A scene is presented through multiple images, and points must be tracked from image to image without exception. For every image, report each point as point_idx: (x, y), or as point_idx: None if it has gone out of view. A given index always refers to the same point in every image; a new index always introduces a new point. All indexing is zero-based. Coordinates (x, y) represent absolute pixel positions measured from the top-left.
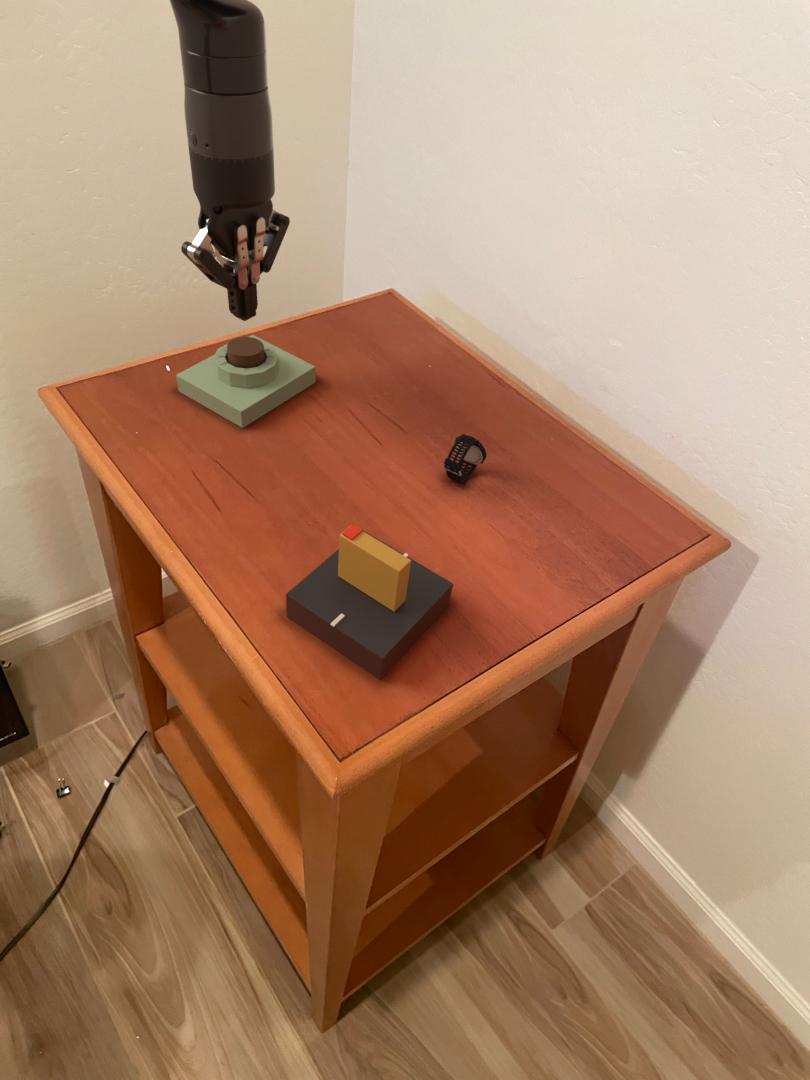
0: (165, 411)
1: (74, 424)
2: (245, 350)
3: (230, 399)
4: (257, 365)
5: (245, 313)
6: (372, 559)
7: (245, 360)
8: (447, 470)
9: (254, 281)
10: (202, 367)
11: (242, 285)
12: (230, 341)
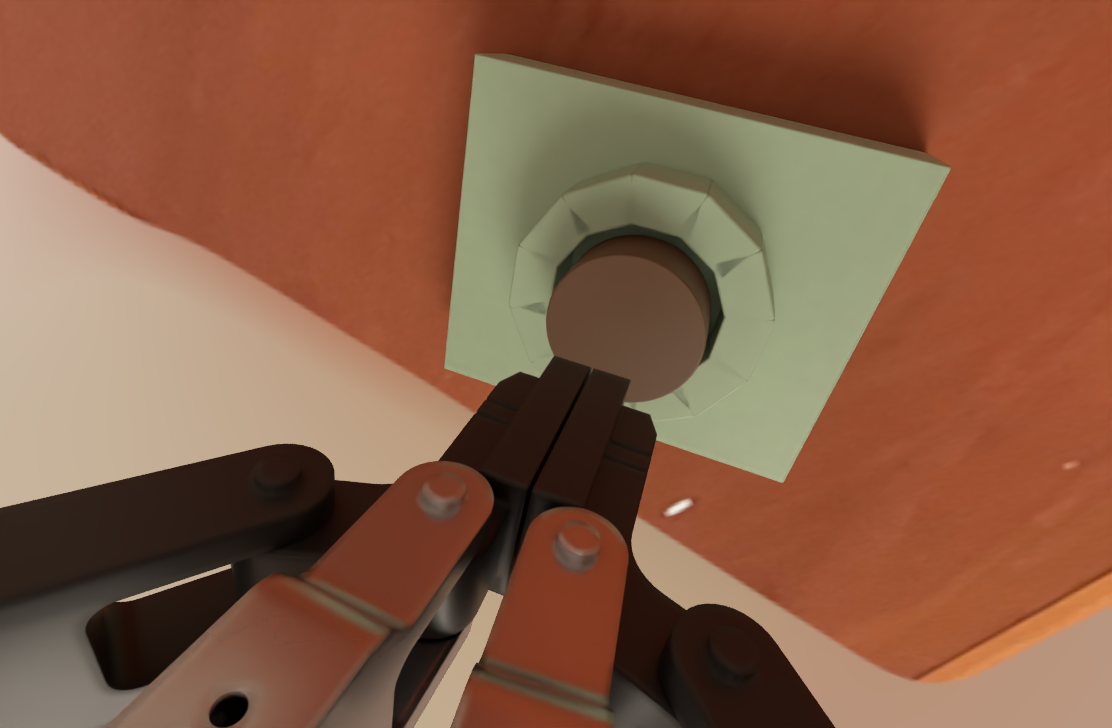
0: (907, 436)
1: (1067, 620)
2: (654, 318)
3: (867, 254)
4: (663, 244)
5: (622, 403)
6: None
7: (700, 291)
8: None
9: (469, 487)
10: (700, 429)
11: (596, 546)
12: None
